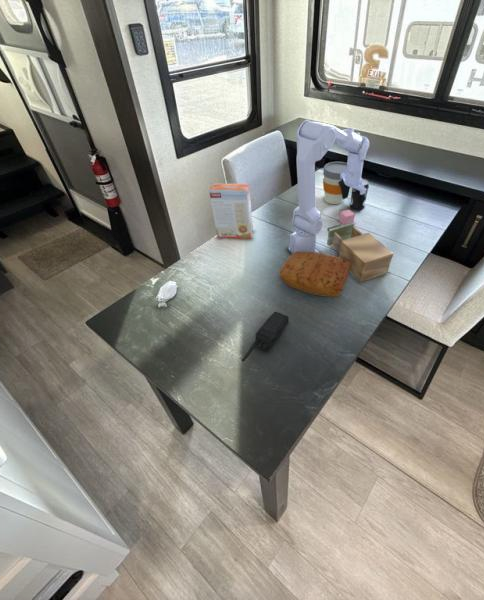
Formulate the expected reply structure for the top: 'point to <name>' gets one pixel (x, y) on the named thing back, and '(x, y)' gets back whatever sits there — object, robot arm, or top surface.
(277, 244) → the top surface
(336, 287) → the cuneiform tablet
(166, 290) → the bird figurine
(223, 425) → the top surface
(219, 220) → the cracker box
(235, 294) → the top surface
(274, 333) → the walkie-talkie
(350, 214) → the block
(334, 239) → the drawer
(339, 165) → the reusable coffee cup
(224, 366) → the top surface
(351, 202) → the beverage can
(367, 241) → the cabinet
